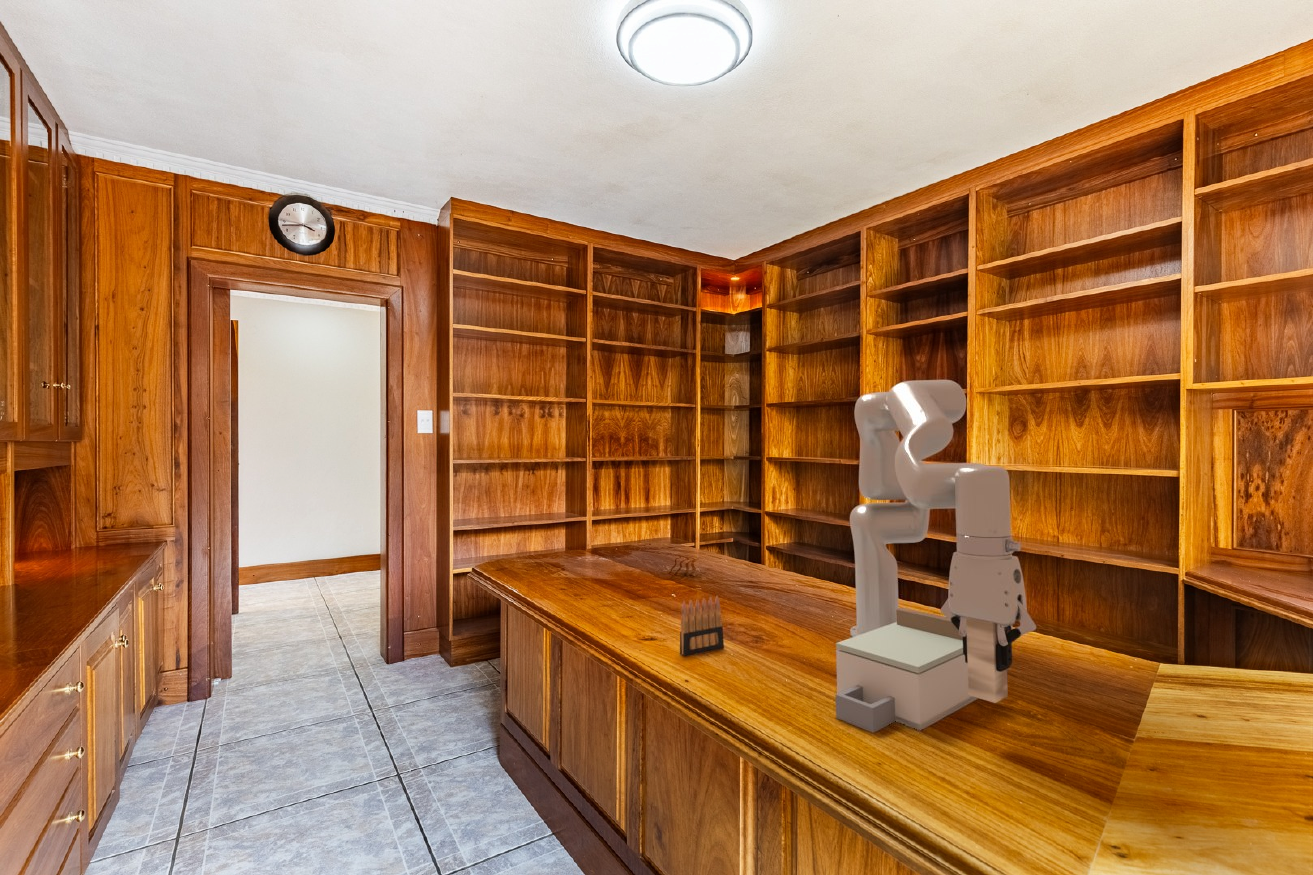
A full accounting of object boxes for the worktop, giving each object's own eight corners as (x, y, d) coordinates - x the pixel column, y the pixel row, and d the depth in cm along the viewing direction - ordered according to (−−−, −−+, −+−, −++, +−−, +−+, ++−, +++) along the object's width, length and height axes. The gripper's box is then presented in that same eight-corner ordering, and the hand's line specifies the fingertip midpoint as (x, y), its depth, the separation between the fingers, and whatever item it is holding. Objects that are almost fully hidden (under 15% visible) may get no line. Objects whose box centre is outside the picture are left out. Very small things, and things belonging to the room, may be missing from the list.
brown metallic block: (981, 688, 99) (978, 612, 100) (1007, 695, 96) (1005, 617, 96) (968, 694, 97) (966, 617, 97) (995, 702, 94) (992, 622, 94)
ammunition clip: (683, 656, 139) (682, 602, 139) (679, 654, 141) (678, 600, 141) (724, 648, 144) (722, 595, 144) (719, 645, 146) (718, 594, 146)
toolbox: (899, 672, 126) (898, 627, 126) (979, 697, 114) (978, 647, 114) (815, 709, 111) (813, 658, 111) (898, 742, 98) (896, 685, 98)
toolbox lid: (898, 626, 126) (897, 606, 126) (978, 645, 114) (977, 623, 114) (836, 648, 114) (835, 626, 114) (918, 673, 102) (917, 648, 102)
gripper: (1053, 549, 93) (1057, 674, 92) (943, 537, 106) (947, 646, 106) (1031, 556, 88) (1035, 687, 88) (919, 542, 101) (922, 656, 101)
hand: (987, 663), depth 97 cm, fingers closed on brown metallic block, 4 cm apart
